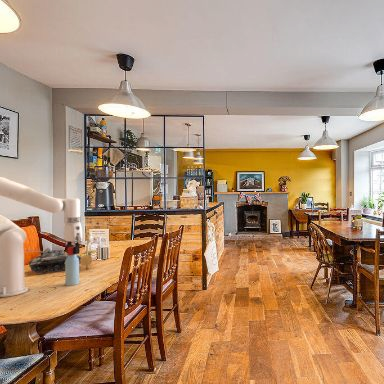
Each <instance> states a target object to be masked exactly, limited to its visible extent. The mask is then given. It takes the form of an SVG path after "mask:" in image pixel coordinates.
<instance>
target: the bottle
mask: <svg viewBox="0 0 384 384" xmlns="http://www.w3.org/2000/svg"><path fill="white" fill-rule="evenodd" d="M64 272H65V273H64V276H65V278H64V280H65V281H64V283H65V284H64V285H65V286H66V287H67V286H68V287H69V286H76V285H78V284H80V264H79V258H78V257H77V256H76V254H74V255H68V258H67V259H66V261H65V270H64Z"/></svg>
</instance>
